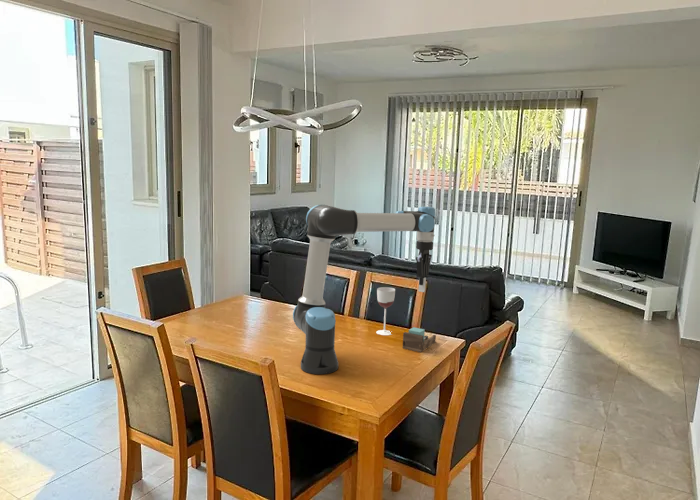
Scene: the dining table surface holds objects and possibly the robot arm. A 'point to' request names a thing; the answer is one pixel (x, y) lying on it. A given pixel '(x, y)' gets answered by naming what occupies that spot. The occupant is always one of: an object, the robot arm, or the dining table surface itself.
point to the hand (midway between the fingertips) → (421, 291)
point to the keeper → (417, 331)
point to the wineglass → (385, 304)
